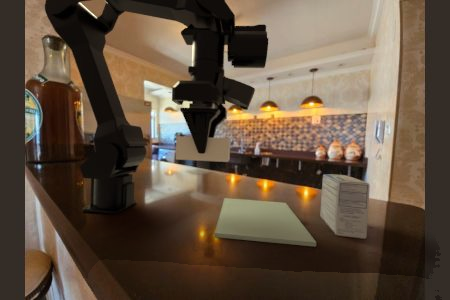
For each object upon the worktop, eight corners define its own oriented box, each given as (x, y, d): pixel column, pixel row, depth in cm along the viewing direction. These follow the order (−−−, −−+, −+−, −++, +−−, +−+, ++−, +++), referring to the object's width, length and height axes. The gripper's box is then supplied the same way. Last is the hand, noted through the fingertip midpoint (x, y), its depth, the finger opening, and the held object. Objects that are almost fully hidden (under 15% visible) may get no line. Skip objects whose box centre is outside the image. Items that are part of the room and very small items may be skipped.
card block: (227, 162, 31) (228, 138, 31) (175, 159, 32) (176, 136, 32) (229, 159, 36) (230, 139, 36) (184, 157, 37) (185, 137, 37)
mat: (214, 237, 26) (214, 232, 26) (224, 200, 43) (224, 198, 43) (316, 246, 25) (316, 242, 25) (285, 205, 42) (285, 202, 42)
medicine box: (367, 240, 28) (371, 183, 27) (334, 236, 29) (338, 180, 28) (344, 219, 35) (347, 175, 35) (319, 216, 36) (322, 173, 36)
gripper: (257, 35, 23) (252, 158, 24) (250, 83, 42) (247, 152, 42) (172, 36, 24) (168, 154, 25) (201, 83, 43) (199, 150, 43)
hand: (204, 152), depth 34 cm, fingers closed on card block, 5 cm apart
